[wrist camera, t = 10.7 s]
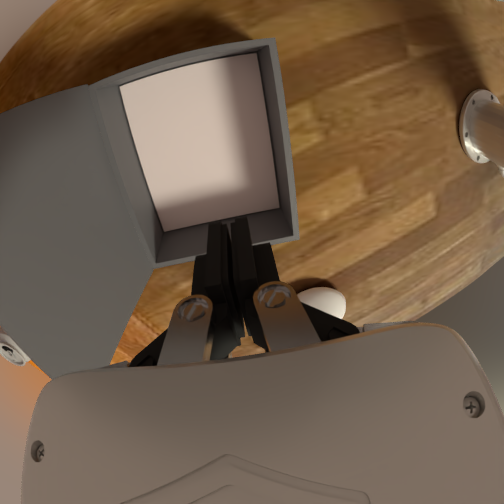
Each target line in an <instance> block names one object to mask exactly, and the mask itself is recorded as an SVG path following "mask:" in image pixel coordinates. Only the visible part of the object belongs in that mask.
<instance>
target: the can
mask: <svg viewBox="0 0 504 504" xmlns="http://www.w3.org/2000/svg"><path fill="white" fill-rule="evenodd" d="M0 354H1V355H2V356H3V357H4V358H5V359H7V360H8V361H10V362H11V363H13V364H15V365H18V366H24V365H25V362H28V361H30V360H31V359H30V358H29V357H28V356H27V355H26V354H25V353H24V352H23V351H22V350H21V349H20V348H19V347H18V346H17V344H16V343H15V342H14V341H13V340H12V339H11V338H10V337H9V336H8V334H7V333H6V332H5V331H4V330H3V329H2V327H0Z"/></svg>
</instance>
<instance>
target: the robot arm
mask: <svg viewBox="0 0 504 504" xmlns="http://www.w3.org/2000/svg"><path fill="white" fill-rule="evenodd" d="M459 133H460V140H461V144H462V147H463V149H464V152H465V153H466V155H467V156H468V157H469V158H470V159H472V160H473V161H475V162H477V163H485V162H488V161H489V160H491V161H493V162H494V163H495V165H496V166H498V170H499V172H500V175H501V176H502V177H504V105H501V104H500V102H499V101H498V99H497V98H496V96H495V95H494V94H493V93H492V92H490V91H488V90H484V89H477V90H474V91H473V92H472V93H470V94H469V96H468V97H467V98H466V100H465V102H464V104H463V107H462V110H461V114H460V122H459ZM230 227H231V239H230V235H229V230H228V226H227V224H222V222H221V221H220V222H215V223H210V224H209V225H208V237H207V251H206V254H203V255H198V256H196V257H195V264H194V273H193V282H192V292H191V296H188V297H186V298H184V299H183V300H181V301H180V302H179V303H178V304H177V305H176V307H175V309H174V311H173V314H172V317H171V321H170V324H169V327H168V329H167V330H165V331H164V332H163V333H162V334H161V335H160V336H158V337H157V338H156V339H155V340H154V341H153V342H151V343H150V344H149V345H148V346H147V347H146V348H144V349H143V350H142V351H141V352H140V353H139V354H137V355H136V356H135V357H134V358H133V360H132V361H131V363H128V362H127V361H124V362H120V363H116V364H112V365H108V366H105V367H101V368H97V369H88V370H80V371H75V372H71V373H67V374H64V375H61V376H59V377H56V378H55V379H53V380H51V381H50V382H48V383H47V384H46V385H45V386H44V388H43V389H42V391H41V393H40V395H39V397H38V399H37V402H36V405H35V408H34V411H33V415H32V418H31V422H30V427H29V432H28V436H27V441H26V448H25V455H24V462H23V472H22V487H21V488H22V489H21V504H504V415H503V413H502V411H501V408H500V405H499V403H498V400H497V398H496V396H495V393H494V391H493V389H492V386H491V384H490V382H489V380H488V378H487V376H486V374H485V372H484V371H483V369H482V367H481V365H480V363H479V361H478V360H477V358H476V356H475V355H474V353H473V352H472V350H471V349H470V347H469V346H468V345H467V343H466V342H465V341H464V339H463V338H462V337H461V336H460V335H459V334H458V333H457V332H456V331H454V330H453V329H451V328H449V327H446V326H444V325H439V324H433V323H418V322H416V321H402V322H389V323H375V324H364V325H363V327H356V326H355V325H353V324H351V323H349V322H347V321H345V320H342V319H340V318H338V317H335V316H333V315H330V314H328V313H326V312H323V311H321V310H319V309H316V308H314V307H312V306H310V305H307V304H305V303H303V302H300V300H299V298H298V296H297V294H296V292H295V290H294V289H293V288H292V286H290V285H289V284H287V283H285V282H281V281H280V280H279V276H278V272H277V268H276V264H275V260H274V256H273V252H272V248H271V244H270V242H269V243H264V244H258V245H253V244H252V239H251V234H250V229H249V224H248V218H247V216H246V217H241V218H236V219H235V222H232V223H230ZM243 318H244V321H245V325H246V329H247V332H248V335H249V336H252V338H253V341H254V343H255V344H257V345H258V346H260V347H262V348H264V350H265V353H261V354H255V355H249V356H242V357H235V358H232V353H231V351H232V350H233V349H234V348H235V347H236V346H240V345H241V342H240V338H241V337H245V332H244V321H243Z"/></svg>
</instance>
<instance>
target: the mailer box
mask: <svg viewBox="0 0 504 504" xmlns="http://www.w3.org/2000/svg"><path fill="white" fill-rule="evenodd" d="M88 89H89V93H90V97H91V101H92V104H93V108H94V112H95V115H96V119H97V122H98V126H99V129H100V133H101V136H102V139H103V142H104V145H105V149H106V152H107V155H108V158H109V161H110V164H111V167H112V170H113V172H114V175H115V178H116V181H117V184H118V186H119V189H120V192H121V194H122V197H123V200H124V202H125V205H126V208H127V210H128V213H129V215H130V218H131V220H132V223H133V225H134V227H135V230H136V232H137V235H138V237H139V239H140V242H141V244H142V246H143V249H144V251H145V253H146V255H147V258H148V260H149V262H150V264H151V266H152V269H155V268H160V267H165V266H170V265H175V264H180V263H185V262H189V261H194V260H195V257H196V256H198V255H203V254H206V251H207V237H208V225H209V224H210V223H215V222H220V221H221V222H222V224H227V226H228V230H229V235H230V239H231V227H230V223H232V222H235V219H236V218H241V217H246V216H247V218H248V224H249V229H250V234H251V239H252V244H253V245H258V244H264V243H269V242H270V244H271V245H274V244H279V243H284V242H289V241H294V240H299V226H298V214H297V202H296V191H295V181H294V171H293V162H292V153H291V144H290V136H289V128H288V120H287V112H286V105H285V98H284V91H283V84H282V77H281V71H280V64H279V58H278V52H277V46H276V40H275V38H266V39H257V40H248V41H241V42H234V43H228V44H222V45H217V46H211V47H206V48H202V49H197V50H193V51H188V52H184V53H180V54H177V55H173V56H169V57H166V58H162V59H159V60H155V61H152V62H149V63H146V64H143V65H140V66H137V67H134V68H131V69H128V70H126V71H123V72H120V73H118V74H115V75H113V76H110V77H108V78H105V79H103V80H100V81H98V82H96V83H94V84H91V85H89V86H88Z"/></svg>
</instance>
